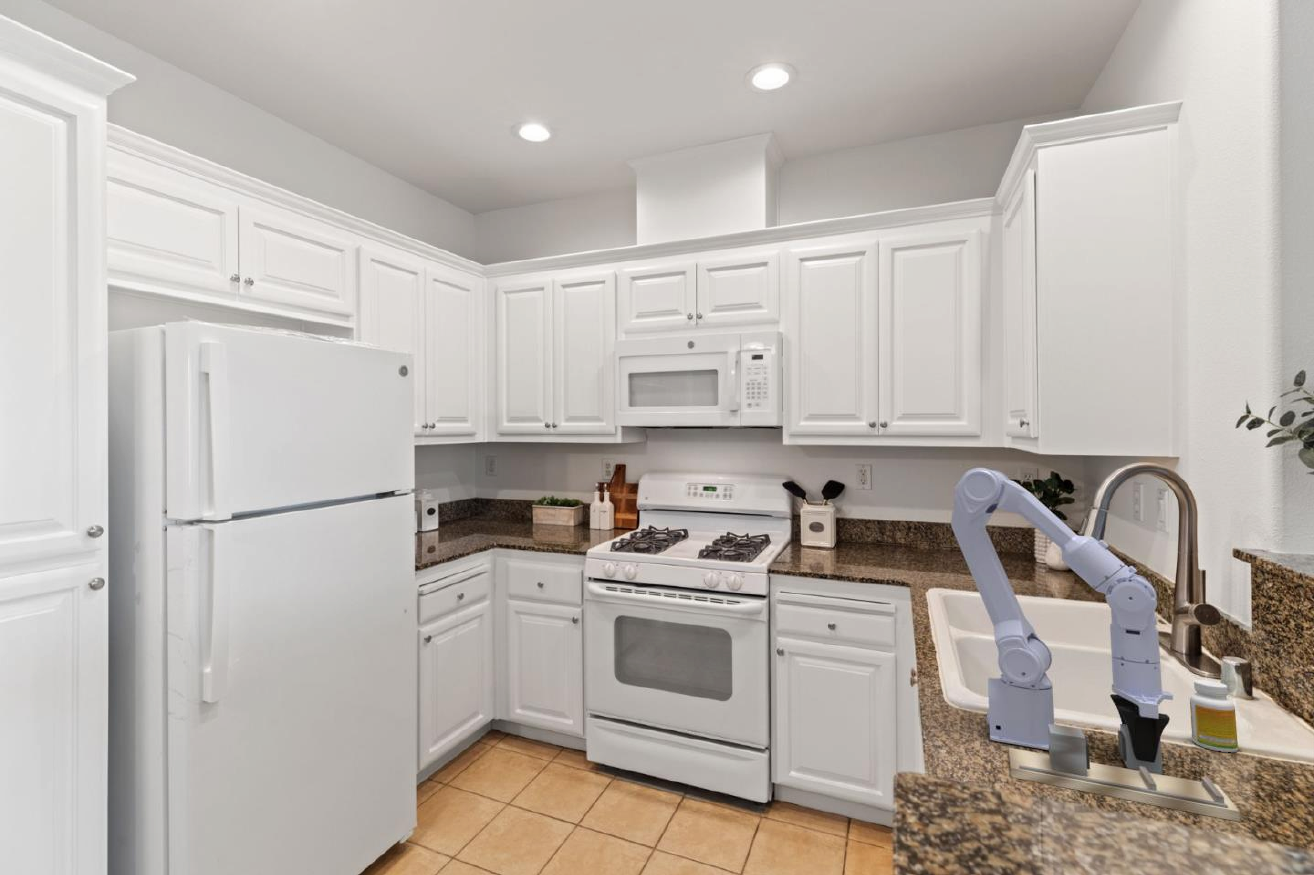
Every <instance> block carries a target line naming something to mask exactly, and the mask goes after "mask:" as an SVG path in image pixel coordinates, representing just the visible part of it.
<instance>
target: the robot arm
mask: <svg viewBox="0 0 1314 875" xmlns="http://www.w3.org/2000/svg"><path fill="white" fill-rule="evenodd" d="M960 478H961V479H959V482H958V483H957V484H956V486H955V488H954V502H953V508H952V514H951V520H950V525H951V529H952V531H953V533H954V536H955V539H956V540H957V543H958V546H959V548H960V550H961V553H962V555H963V558H964V560H965V562H966V565H967V567H968V569H969V572H970V574H971V576H972V579H973V581H974V583H975V585H976V588H977V590H978V593H979V595H980V597H981V599H982V603H983V605H984V608H985V609H986V611H987V613H988V616H989V620H990V621H991V623H992V626H993V636H994V642H995V645H996V647H997V651H998V659H997V664H998V668H999V670H1000V672H1001V674H1000V677H999V678H997V677H996V678H995V677H994V678H993V677H988V678H987V692H988V693H987V694H988V712H986V724H987V725H989V739H990V740H991V741H994V742H1000V743H1005V744H1011V745H1017V746H1023V747H1029V748H1034V749H1039V750H1040V749H1041V750H1046V751H1049V738H1048V724H1053V725H1055V712H1054V711H1055V710H1054V689H1053V681H1051V679H1050V678H1049V677H1048V674H1047V673H1046V672H1047V671H1048V670H1049V669H1050V668H1051V666H1052V664H1053V656H1052V652H1051V649H1050V648H1049V646H1048V645H1047V644H1046V643H1045V642H1044V641H1043V640H1041V638H1040V637H1039V636H1038V635H1037V633H1036V631H1035V629H1034V627H1033V626H1032V624H1031V623H1030V622H1029V620H1028V619H1027V618H1026V616H1025V614H1024V611H1023V610H1022V608H1021V605H1020V604H1019V601H1018V599H1017V597H1016V594H1015V592H1014V589H1013V587H1012V585H1011V582H1010V580H1009V578H1008V576H1007V573H1006V571H1005V568H1004V567H1003V565H1002V561H1001V560H1000V557H999V556H998V553H997V551H996V548H995V546H994V544H993V542H992V540H991V538H990V535H989V533H988V531H987V529H986V528H987V525H988V522H989V521H990V520H991V518H992V516H993V514H994V512H995V511H997V509H1000V510H1005V511H1008V512H1013V513H1015V514H1019V515H1020V516H1021V517H1022V518H1023V519H1025V521H1027V522H1028V523H1029V524H1031V525H1032V526H1033V527H1034V528H1036V529H1037V530H1038V531H1040V533H1042V534H1043V535H1044V536H1045V537H1046V538H1048V539H1049V540H1050V541H1051V542H1052V543H1054V544H1055V545H1057V547H1059V548H1060V549H1061V560H1062V562H1063V563H1064V564H1065V565H1067V567H1069V568H1070V569H1071V570H1072V571H1073V572H1074V573H1075V574H1077V575H1078V576H1079V577H1080V578H1081V579H1082V580H1084V582H1086V583H1087V584H1088V585H1089V586H1090V587H1091V588H1092V589H1094V590H1095V591H1096V592H1097V593H1101V594H1103V595H1105V601H1106V603H1107V605H1108V607H1109V608H1110V613H1111V614H1110V616H1111V623H1110V625H1109V632H1110V650H1111V670H1112V671H1111V672H1112V684H1111V691H1112V692H1113V693H1114V694H1111V693H1110V699H1111V700H1112V702H1113V704H1114V706H1115V707H1116V709H1117V712H1118V715H1119V717H1120V721H1121V724H1125V725H1127V728H1128V731H1129V735H1130V739H1131V744H1132V748H1133V752H1134V755H1135V757H1136V759H1137V760H1140V761H1146V762H1152V763H1154V762H1155V759H1156V756H1157V751H1158V745H1159V741H1160V740H1161V737H1162V734H1163V732H1164V730H1165V729H1166V728H1167V726H1168V725H1169V722H1170V720H1171V719H1170V717H1169V715H1168V714H1167V713H1166V714H1165V713H1160V712H1159V705H1160V704H1161V703H1162V702H1163V701H1164V700H1170V701H1172V700H1174V695H1173V694H1172V692H1170V691H1165V690H1163V685H1162V684H1163V683H1162V670H1161V654H1160V653H1161V651H1160V640H1159V638H1160V636H1159V629H1158V628H1157V624H1158V620H1157V616H1156V614H1155V613H1156V612H1155V611H1156V608H1157V606H1158V601H1157V591H1156V590H1155V588H1154V587H1153V585H1152V584H1151V583H1150V582H1149V580H1148V579H1147V578H1146V577H1144V576H1142V575H1139V574H1136V573H1137V571H1138V570H1137V569H1136V568H1135V567H1134V566H1132V565H1130V566H1128V565H1127V564H1125V563H1124V562H1123V561H1122V560H1121V559H1120V558H1118V557H1117V556H1116V555H1115V554H1114V553H1112V552H1111V551H1110V550H1109V549H1108V547H1109V544H1108V543H1107V542H1106V541H1104V540H1103V539H1100V540H1097V539H1096V538H1094V537H1093V536H1091V535H1090V536H1089V535H1077V534H1076V533H1075V532H1074V531H1073V529H1071V528H1070V527H1069V526H1068V525H1066V524H1065V523H1064V522H1063V521H1062V520H1061V519H1060V517H1058V516H1057V515H1056V514H1054V513H1053V512H1052V511H1051V510H1050V509H1049V508H1048V507H1047V506H1045V504H1043V502H1041V501H1040V500H1039V499H1038V498H1037V497H1035V496H1034V495H1033V494H1032V492H1030V491H1028V490H1027V489H1026V488H1025V487H1023V486H1021V485H1020V484H1019V483H1017V482H1016V481H1014V480H1012V479H1011V480H1010V479H1009V477H1008V476H1007V475H1006V474H1004V473H1003V472H1001V471H999V470H993V469H988V468H984V467H976V468H972V469H969V470H968V471H966V472H965V473H964V474H963V475H962V477H960Z"/></svg>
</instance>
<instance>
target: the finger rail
mask: <svg viewBox="0 0 1314 875" xmlns="http://www.w3.org/2000/svg"><path fill="white" fill-rule="evenodd" d="M1048 738H1049V750H1048V752H1049V753H1048V754H1046V753H1040V752H1035V751H1029V750H1025V749H1024V750H1023V749H1017V748H1013V747H1009V748H1008V754H1009V755H1008V756H1009V766H1010V775H1011V778H1015V779H1019V780H1025V781H1030V782H1034V783H1035V782H1036V783H1039V784H1045V785H1050V786H1054V787H1061V788H1065V789H1071V790H1076V791H1079V792H1080V791H1081V792H1086V793H1090V794H1096V795H1101V796H1105V797H1111V798H1116V799H1122V800H1125V801H1132V802H1137V803H1140V804H1141V803H1142V804H1147V805H1152V806H1157V807H1162V808H1167V809H1172V810H1177V811H1183V812H1187V813H1191V814H1196V815H1197V814H1198V815H1202V816H1206V817H1207V816H1208V817H1212V818H1217V819H1222V820H1228V821H1234V822H1238V823H1241V822H1242V821H1241V820H1242V819H1241V812H1240V810H1239V809H1238V807H1237V806H1236V805H1235V803H1233V801H1232V800H1231V799H1230V798H1229V797H1228V795H1227V794H1226V793H1225V791H1223V789H1222V787H1220V785H1219V784H1215V783H1213V782H1212V781H1211V779H1210V778H1209V777H1206V776H1201V778H1200V779H1201V781H1198V780H1193V779H1186V778H1182V777H1181V778H1180V777H1176V776H1169V775H1166V774H1165V775H1164V774H1157V773H1152V772H1148V770H1147V769H1146V767H1143V766H1139V770H1135V769H1129V768H1127V767H1126V768H1124V767H1119V766H1114V765H1113V766H1112V765H1109V764H1104V763H1103V764H1101V763H1096V762H1091V761H1090V746H1089V745H1090V744H1089V742H1088V740H1087V737H1086V736H1085V735H1084V733H1083V730H1082V728H1077V727H1071V726H1065V725H1061V724H1060V725H1059V724H1054V725H1053V724H1048Z"/></svg>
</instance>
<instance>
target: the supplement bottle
mask: <svg viewBox="0 0 1314 875" xmlns="http://www.w3.org/2000/svg"><path fill="white" fill-rule="evenodd" d="M1193 685H1194V686H1193V689H1194V691H1196V692H1195V693H1192V694H1191V695H1190V696H1189V709H1190V724H1191V725H1190V726H1191V738H1193V739H1192V741H1193V740H1194V742H1193V743H1194V744H1195V743H1196V744H1195V745H1197V746H1199V747H1201V748H1204V749H1207V750H1210V751H1213V752H1214V751H1215V752H1218V751H1221V752H1220V753H1228V752H1231V753H1236V752H1238V751H1239V744H1238V734H1237V733H1238V731H1237V720H1236V708H1235V707H1236V704H1235V703H1234V702H1233V701H1232V700H1231V699H1229V698H1227V696H1229V691H1228V690H1229V689H1228V685H1226V684H1225V683H1221V682H1217V681H1213V680H1205V679H1194V681H1193Z"/></svg>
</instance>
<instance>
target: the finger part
mask: <svg viewBox="0 0 1314 875" xmlns="http://www.w3.org/2000/svg"><path fill="white" fill-rule="evenodd" d="M1119 727H1120V730H1119V729H1118V730H1117V740H1118V754H1119V755H1120V757H1121V758H1122V761H1123V762H1124V765H1125V766H1126V769H1131V770H1137V771H1139V766H1143V767H1146V769H1147V770H1148V772H1149V773H1154V774H1160V775H1164V774H1163V762H1162V761H1163V757H1162V744H1161V742H1162V740H1161V739H1160V741H1159V745H1158V751H1157V756H1156V759H1155V762H1154V763H1152V762H1146V761H1140V760H1137V759H1136V757H1135V755H1134V752H1133V748H1132V744H1131V739H1130V735H1129V731H1128V728H1127V725H1125V724H1122V723H1120V724H1119Z"/></svg>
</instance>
